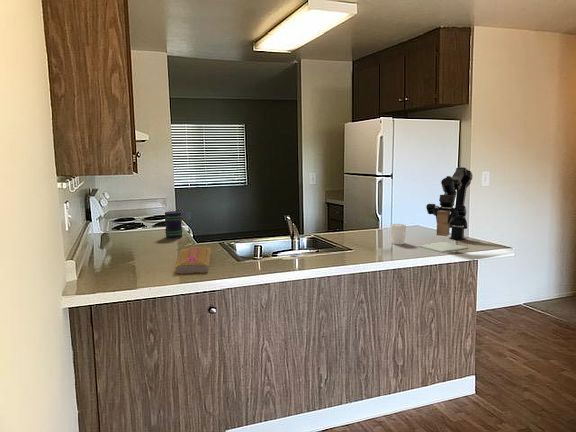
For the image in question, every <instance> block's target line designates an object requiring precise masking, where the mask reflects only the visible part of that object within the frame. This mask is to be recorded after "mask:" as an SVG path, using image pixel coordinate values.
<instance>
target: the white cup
mask: <svg viewBox="0 0 576 432" xmlns="http://www.w3.org/2000/svg"><path fill="white" fill-rule="evenodd" d="M406 229H407V225H406V224H403V223H392V224H390V238H391V241H390V242H391V244H392V245H404V244H405V240H406V231H407V230H406Z"/></svg>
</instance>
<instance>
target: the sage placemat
mask: <svg viewBox="0 0 576 432" xmlns="http://www.w3.org/2000/svg"><path fill="white" fill-rule="evenodd" d="M418 247H419V248H423V249H426V250H430V251H435V252H439V253H447V252H451V251H452V252H453V251H458V250H465V249H469V247H468V246H466V245H465V246H463V245H459V244H454V243H452V242H451V243H450V242H446V241H439V242H434V243H432V242H431V243H427V244H418Z"/></svg>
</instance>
